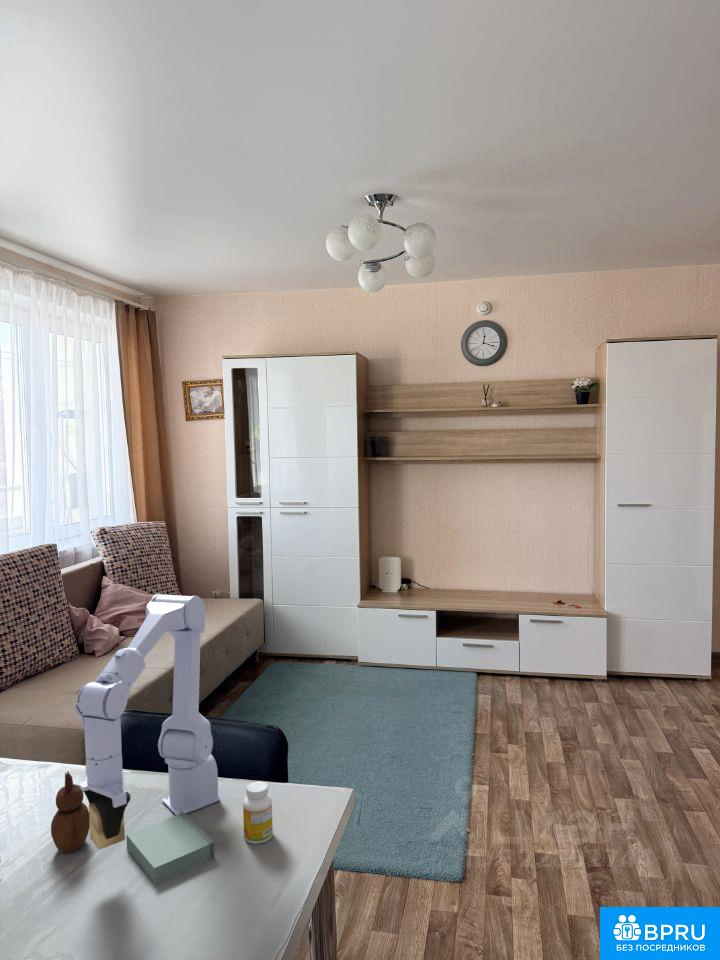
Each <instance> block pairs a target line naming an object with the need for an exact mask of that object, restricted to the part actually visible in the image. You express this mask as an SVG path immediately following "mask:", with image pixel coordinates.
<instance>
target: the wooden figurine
mask: <svg viewBox="0 0 720 960" xmlns="http://www.w3.org/2000/svg"><path fill="white" fill-rule="evenodd" d="M73 780H74V779H73V776H72V775H71V773H70V771H69V770H67V772H65V773H64V786H62V787H61V788H59V790H58V791H57V793H56V797H55V806H56V808H57V810H56V813H55V814H54V816H53V817H52V820H51V823H50V834H51V835H50V836H51V838H52V840H53V844H54V845H55V847H56V849H57V850H58V851H60V852H63V853H72V852H74V851H76V850H78V849H80V848H81V847H83V845H84V844H85V843H86V841H87V837H88V834H89V833H90V822H89V807H88V806H87V804H85V803H84V802H83V801H84V792H83V791H82V790H81V789H80V784H79V785H78V784H74V781H73Z"/></svg>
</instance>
